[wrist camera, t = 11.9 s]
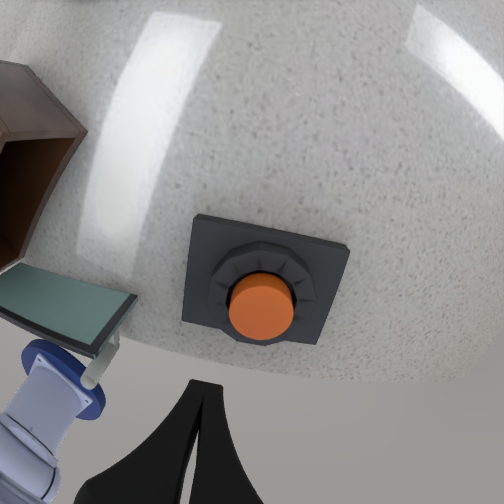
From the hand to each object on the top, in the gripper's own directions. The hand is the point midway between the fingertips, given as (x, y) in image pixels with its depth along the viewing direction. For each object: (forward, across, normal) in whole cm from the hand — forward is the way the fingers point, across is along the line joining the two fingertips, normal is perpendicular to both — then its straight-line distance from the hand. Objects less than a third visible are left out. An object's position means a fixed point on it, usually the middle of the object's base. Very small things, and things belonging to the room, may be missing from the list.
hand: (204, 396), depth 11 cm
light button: (+7, -2, -1) cm, 7 cm away
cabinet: (+10, +21, -7) cm, 24 cm away
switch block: (+10, -2, -1) cm, 10 cm away
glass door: (+8, +13, +4) cm, 16 cm away
